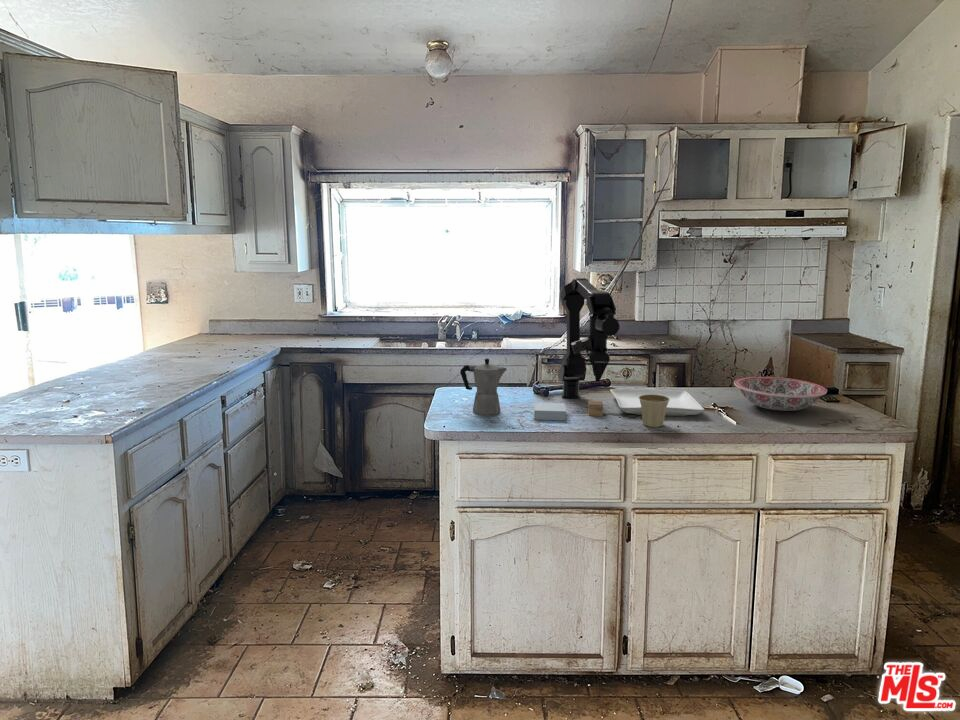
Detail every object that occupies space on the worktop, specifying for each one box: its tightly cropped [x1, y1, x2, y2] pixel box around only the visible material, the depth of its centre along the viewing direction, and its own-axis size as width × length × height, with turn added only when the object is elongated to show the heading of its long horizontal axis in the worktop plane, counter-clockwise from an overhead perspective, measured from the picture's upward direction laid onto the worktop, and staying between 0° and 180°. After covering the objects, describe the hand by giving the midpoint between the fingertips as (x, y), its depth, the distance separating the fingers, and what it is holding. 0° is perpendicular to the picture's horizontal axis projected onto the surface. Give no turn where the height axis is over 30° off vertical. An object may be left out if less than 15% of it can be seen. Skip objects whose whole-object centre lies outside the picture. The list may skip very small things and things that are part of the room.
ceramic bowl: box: [734, 376, 828, 412], centre depth 235 cm, size 29×29×8 cm
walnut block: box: [587, 400, 604, 417], centre depth 227 cm, size 4×4×4 cm
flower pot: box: [639, 394, 670, 428], centre depth 214 cm, size 9×9×9 cm
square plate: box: [610, 388, 705, 417], centre depth 236 cm, size 27×27×4 cm
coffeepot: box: [459, 358, 508, 416], centre depth 228 cm, size 15×9×18 cm, turn 88°
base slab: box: [533, 402, 567, 421], centre depth 224 cm, size 10×10×3 cm
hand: (596, 378), depth 225 cm, fingers open, 9 cm apart
